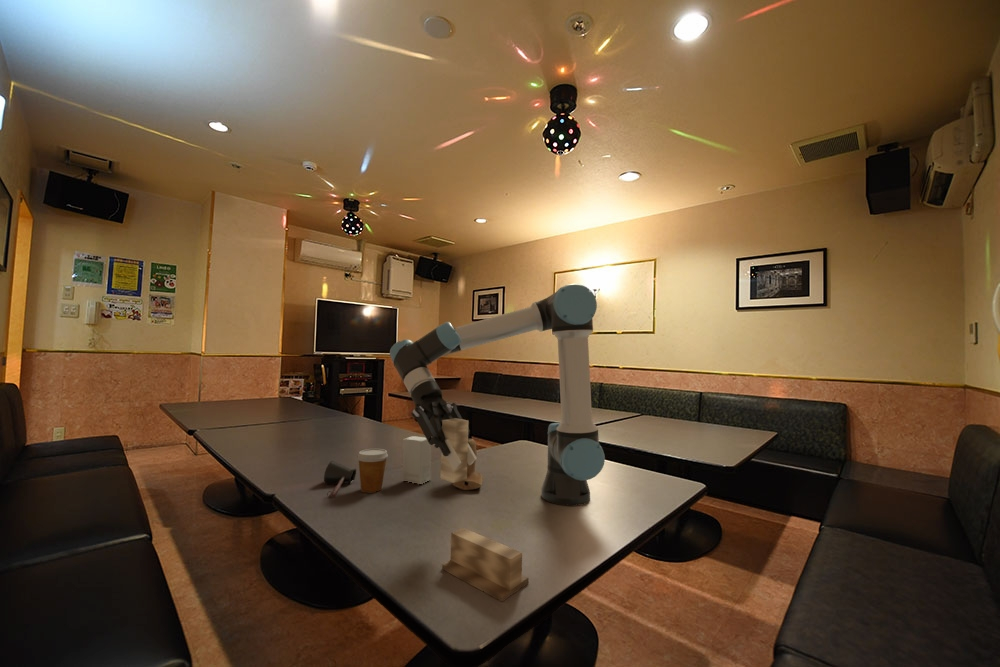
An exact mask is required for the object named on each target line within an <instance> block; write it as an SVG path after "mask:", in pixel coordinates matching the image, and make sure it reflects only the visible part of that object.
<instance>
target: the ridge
mask: <svg viewBox="0 0 1000 667" xmlns="http://www.w3.org/2000/svg"><path fill="white" fill-rule="evenodd" d="M450 534H451V535H450V559H449V560H447V561H445V562H443V563H442V564H441V570H443V571H445V572H447V573H448V574H451V575H452V576H454V577H456V578H458V579H460V580H461V581H464V582H465V583H467V584H469V585H471V586H472V587H474V588H476V589H478V590H480V591H481V592H483V591H484V593H485V594H487V595H489V596H491V597H493V599H494V598H495V599H496V600H498V601H500V602H504V601H505V600H507V599H509V597H510V595H511V596H512V595H514V594H516V593H517V592H518V591H519V590H521V589H522V588H523V587H525V586H527V585H528V584H529V576H527V575H524V574H522V573H523V552H522V551H519V550H518V549H514V548H512V547H509V546H507V545H505V544H502V543H500V542H499V541H498V542H497V541H496V540H493V539H491V538H488V537H486V536H484V535H481V534H479V533H477V532H474V531H471V530H470V529H468V528H465V527H462V528H459V529H457V530H455V531H452V532H451V533H450ZM527 583H528V584H527ZM524 585H525V586H524ZM521 587H522V588H521ZM520 588H521V589H520ZM517 590H518V591H517ZM513 593H514V594H513Z"/></svg>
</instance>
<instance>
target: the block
mask: <svg viewBox="0 0 1000 667" xmlns="http://www.w3.org/2000/svg"><path fill="white" fill-rule="evenodd" d="M441 424H442V425H441V427H442V430H443V434H444V437H445V440H447V439H449V441H450V443H451V445H452V446H453V448H454V450H455V452H456V454H457V455H458V457H459V459H460V461H461V463H460V465H459V466H458V467H457V468H456V469H454V470H453V469H452V467H451V465H450V463H449V461H448V459H447V457H446V456H444V455H443V453H442V452H440V454H441V455H440V479H441V480H443V481H447V482H449V483H452V484H453V483H455V482H458V481H461V480H464V479H467V455H468V439H469V434H468V429H469V424H470V422H469V419H467V420H466V419H463V418H462V419H457V418H454V419H447V420H442V422H441Z"/></svg>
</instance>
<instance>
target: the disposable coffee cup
mask: <svg viewBox="0 0 1000 667" xmlns="http://www.w3.org/2000/svg"><path fill="white" fill-rule="evenodd" d="M388 457H389V454H388V450H386V449H383V448H368V449H367V448H366V449H363V450H360V451H359V452H358V455H357V456H356V458H357V460H358V469H359V481H360V482H359V483H360V491H361V490H362V491H363V492H362V491H361V492H362V493H365V492H373V493H377V492H376V491H378V492H380V491H381V490H382V487H383V482H384V475H385V469H386V463H387V459H388ZM379 490H380V491H379Z"/></svg>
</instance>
